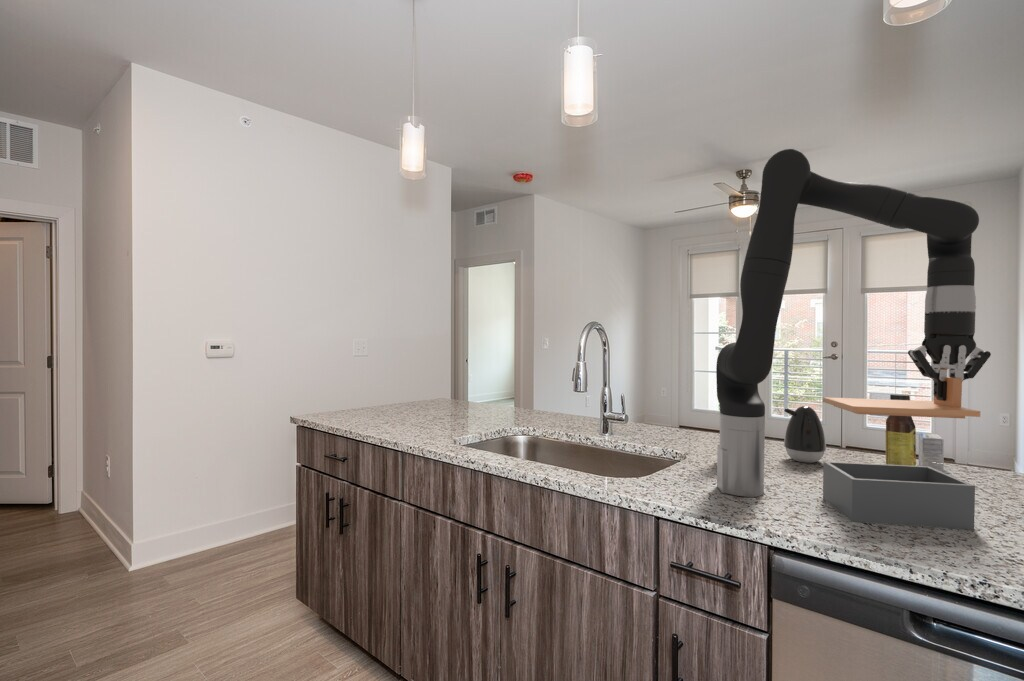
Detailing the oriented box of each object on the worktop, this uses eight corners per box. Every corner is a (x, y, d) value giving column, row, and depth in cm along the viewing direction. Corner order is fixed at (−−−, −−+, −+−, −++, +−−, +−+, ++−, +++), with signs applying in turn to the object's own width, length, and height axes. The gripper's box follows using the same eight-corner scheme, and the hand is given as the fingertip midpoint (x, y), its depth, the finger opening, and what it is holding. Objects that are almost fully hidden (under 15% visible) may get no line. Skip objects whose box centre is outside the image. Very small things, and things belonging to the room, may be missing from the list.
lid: (852, 414, 98) (853, 376, 98) (822, 404, 112) (823, 371, 112) (980, 420, 94) (981, 380, 94) (932, 408, 108) (933, 374, 108)
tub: (851, 521, 99) (852, 479, 99) (822, 498, 113) (823, 461, 112) (974, 530, 95) (975, 485, 95) (928, 505, 109) (929, 466, 109)
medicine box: (943, 473, 134) (944, 439, 134) (921, 470, 136) (922, 437, 136) (938, 466, 141) (939, 434, 141) (917, 464, 143) (918, 432, 143)
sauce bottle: (921, 476, 131) (922, 396, 131) (892, 474, 132) (894, 395, 132) (906, 469, 137) (908, 393, 137) (880, 468, 139) (881, 392, 138)
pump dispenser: (778, 455, 152) (779, 403, 152) (817, 457, 150) (818, 404, 150) (789, 464, 142) (790, 408, 142) (831, 466, 140) (832, 409, 140)
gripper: (977, 311, 104) (974, 399, 104) (899, 311, 106) (897, 396, 107) (1004, 309, 96) (1002, 404, 96) (920, 309, 99) (918, 401, 99)
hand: (947, 400), depth 102 cm, fingers closed on lid, 1 cm apart
